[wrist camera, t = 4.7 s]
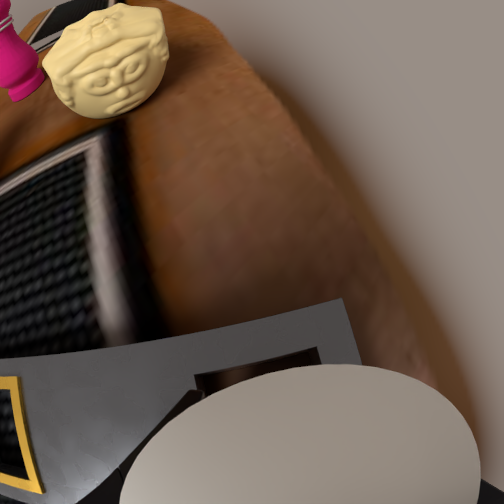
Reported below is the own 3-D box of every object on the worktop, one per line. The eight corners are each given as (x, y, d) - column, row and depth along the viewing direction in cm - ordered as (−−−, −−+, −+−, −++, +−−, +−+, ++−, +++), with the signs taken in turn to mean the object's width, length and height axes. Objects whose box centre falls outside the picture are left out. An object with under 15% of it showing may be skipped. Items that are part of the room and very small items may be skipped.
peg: (316, 449, 12) (463, 579, 1) (232, 460, 12) (164, 635, 1) (306, 373, 14) (466, 324, 3) (222, 383, 14) (93, 380, 3)
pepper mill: (20, 84, 32) (-21, -4, 14) (53, 68, 32) (15, -29, 14) (3, 110, 29) (-48, 16, 11) (37, 94, 29) (-12, -14, 11)
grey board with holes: (330, 309, 17) (343, 295, 14) (371, 464, 13) (390, 476, 10) (-26, 366, 15) (-49, 360, 12) (-5, 480, 11) (-27, 484, 8)
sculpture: (80, 155, 23) (28, 62, 13) (69, 99, 27) (37, 29, 17) (192, 100, 25) (173, -3, 15) (155, 58, 30) (138, -16, 20)
